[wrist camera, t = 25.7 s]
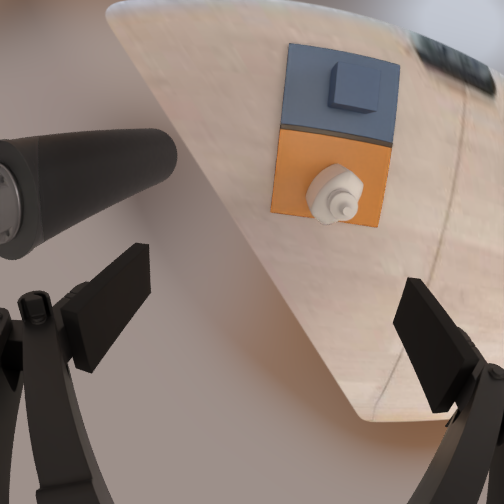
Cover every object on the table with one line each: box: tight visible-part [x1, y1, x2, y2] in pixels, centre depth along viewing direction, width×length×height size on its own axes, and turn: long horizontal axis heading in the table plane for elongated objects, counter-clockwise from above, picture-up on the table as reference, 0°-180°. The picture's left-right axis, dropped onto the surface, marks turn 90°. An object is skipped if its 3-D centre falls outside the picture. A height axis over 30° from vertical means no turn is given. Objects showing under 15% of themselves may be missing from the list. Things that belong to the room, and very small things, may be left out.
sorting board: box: [271, 43, 400, 227], centre depth 33 cm, size 13×20×1 cm, turn 174°
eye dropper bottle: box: [306, 164, 363, 225], centre depth 29 cm, size 4×6×12 cm
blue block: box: [328, 61, 381, 114], centre depth 28 cm, size 4×4×4 cm
